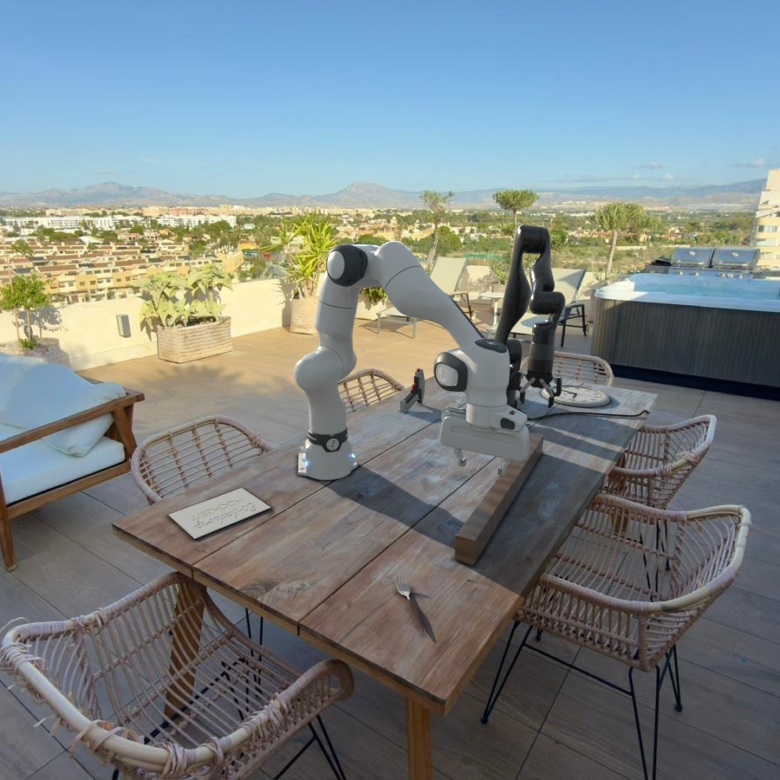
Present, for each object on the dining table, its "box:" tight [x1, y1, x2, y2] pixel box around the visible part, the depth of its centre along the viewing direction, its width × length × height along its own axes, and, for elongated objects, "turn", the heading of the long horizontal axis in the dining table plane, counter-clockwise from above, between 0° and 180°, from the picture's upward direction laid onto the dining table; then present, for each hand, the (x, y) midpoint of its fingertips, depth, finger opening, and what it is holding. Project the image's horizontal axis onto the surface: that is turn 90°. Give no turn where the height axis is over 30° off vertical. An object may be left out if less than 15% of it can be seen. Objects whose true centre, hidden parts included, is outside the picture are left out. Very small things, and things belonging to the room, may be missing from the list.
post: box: [454, 432, 545, 566], centre depth 149 cm, size 72×5×6 cm, turn 152°
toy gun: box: [399, 367, 426, 413], centre depth 218 cm, size 2×16×15 cm
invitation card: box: [168, 487, 271, 540], centre depth 138 cm, size 21×1×15 cm
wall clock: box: [541, 384, 611, 408], centre depth 239 cm, size 30×2×30 cm
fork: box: [394, 572, 425, 632], centre depth 105 cm, size 3×16×2 cm, turn 15°
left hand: (481, 469), depth 120 cm, fingers open, 8 cm apart
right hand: (536, 405), depth 167 cm, fingers open, 8 cm apart
